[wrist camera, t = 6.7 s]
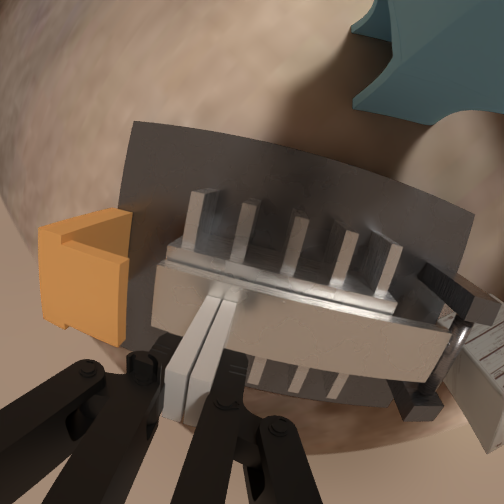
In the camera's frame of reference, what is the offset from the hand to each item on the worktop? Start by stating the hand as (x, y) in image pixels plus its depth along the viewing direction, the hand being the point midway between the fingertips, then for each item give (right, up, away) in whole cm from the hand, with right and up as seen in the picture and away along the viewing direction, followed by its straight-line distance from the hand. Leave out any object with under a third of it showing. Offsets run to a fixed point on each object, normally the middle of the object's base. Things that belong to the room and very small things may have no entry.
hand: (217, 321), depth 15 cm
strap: (+6, -1, +1) cm, 6 cm away
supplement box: (+24, -5, +7) cm, 25 cm away
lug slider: (-7, +4, +6) cm, 10 cm away
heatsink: (+5, +1, +7) cm, 9 cm away
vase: (+14, +18, +2) cm, 22 cm away
